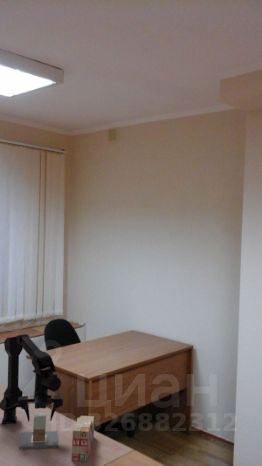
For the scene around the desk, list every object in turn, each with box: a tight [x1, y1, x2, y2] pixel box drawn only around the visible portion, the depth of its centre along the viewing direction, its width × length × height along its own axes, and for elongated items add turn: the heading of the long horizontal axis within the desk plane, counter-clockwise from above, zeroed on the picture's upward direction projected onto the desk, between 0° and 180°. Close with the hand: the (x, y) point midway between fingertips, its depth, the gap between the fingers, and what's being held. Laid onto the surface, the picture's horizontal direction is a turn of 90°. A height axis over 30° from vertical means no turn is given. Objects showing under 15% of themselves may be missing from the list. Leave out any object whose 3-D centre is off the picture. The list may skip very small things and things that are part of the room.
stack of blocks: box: [71, 415, 95, 463], centre depth 181 cm, size 21×6×12 cm, turn 178°
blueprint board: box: [18, 430, 59, 450], centre depth 185 cm, size 13×16×1 cm
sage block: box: [32, 412, 47, 431], centre depth 185 cm, size 5×5×5 cm
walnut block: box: [32, 426, 46, 441], centre depth 185 cm, size 5×5×5 cm
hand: (39, 421), depth 185 cm, fingers open, 9 cm apart
